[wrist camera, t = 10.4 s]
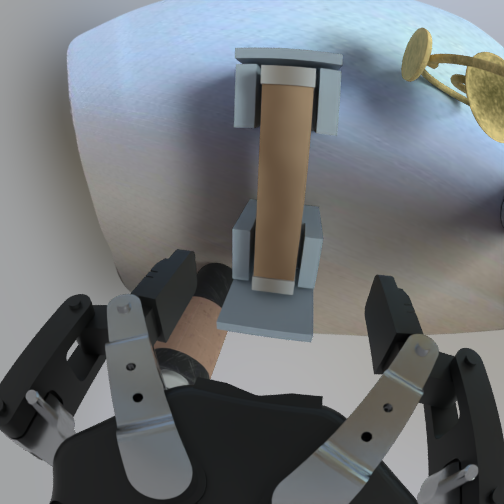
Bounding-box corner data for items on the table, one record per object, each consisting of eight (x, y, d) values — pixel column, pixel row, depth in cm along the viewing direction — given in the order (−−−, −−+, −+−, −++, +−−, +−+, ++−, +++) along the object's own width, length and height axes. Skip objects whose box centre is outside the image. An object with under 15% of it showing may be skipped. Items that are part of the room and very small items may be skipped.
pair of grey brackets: (331, 71, 26) (355, 36, 12) (311, 256, 38) (311, 342, 24) (254, 65, 27) (213, 30, 13) (248, 249, 39) (216, 328, 25)
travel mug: (233, 257, 40) (184, 365, 23) (248, 298, 43) (215, 406, 26) (189, 265, 42) (126, 361, 25) (206, 303, 46) (160, 401, 29)
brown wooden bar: (313, 77, 22) (316, 68, 17) (295, 265, 32) (292, 295, 27) (269, 74, 22) (261, 65, 17) (260, 261, 33) (251, 289, 28)
